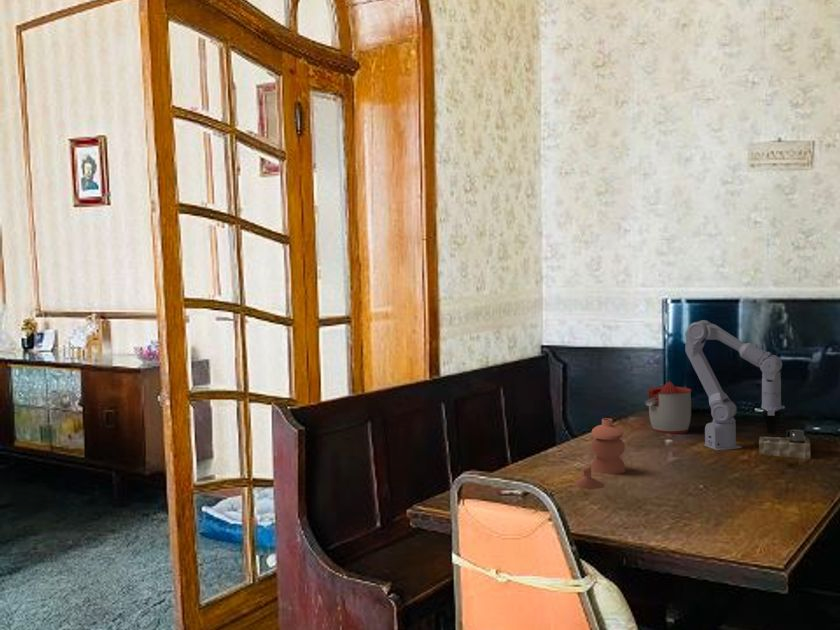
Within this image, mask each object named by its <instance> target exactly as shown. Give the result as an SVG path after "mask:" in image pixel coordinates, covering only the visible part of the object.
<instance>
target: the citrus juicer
mask: <svg viewBox="0 0 840 630" xmlns="http://www.w3.org/2000/svg"><path fill="white" fill-rule="evenodd" d="M647 391H648V393H647V394H648V395H647V396H648V397H647V398H648V399H647V400H646V401H645V405H646V406H648V414H649V421H650V425H651V429H652V431H654V432H655V433H660V434H670V435H673V434H674V435H681V434H686V433H688V431H689V427H690V423H691V417H692V396H691V395H692V393H691V392H692V389H691V388H689V387H683V386H676V385H674V383H673V382H671V381H668V382H666V383H665V384H664V385H663V386H655V387H650V388H648V389H647Z"/></svg>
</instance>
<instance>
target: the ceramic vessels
mask: <svg viewBox="0 0 840 630" xmlns="http://www.w3.org/2000/svg"><path fill="white" fill-rule="evenodd" d="M623 435H624V430H623V429H622V428H621V427H620V426H618V425H615V424H613V418H607V417H606V418H602V419H601V424H599V425H596V426H595V427H593V428H592V430H591V436H593V439H592V441H591V442H590V449H591V452H592V454H594V455H595V457H594V459H593V460H592V463H591V466H589V465H584V466H583V470H582V471H583V476H582V477H581V478H579V479H577V480H575V481H574V482H572V485H573V486H574V487H577V488H579V489H580V488H581V489H587V490H595V489H602V488H604V487H605V484H604V483H602V482H601V481H599V480H597V479H595V478H594V477H592V471H593V472H596V473H598V474H599V473H600V474H607V475H618V474H623V473H625V472H626V465H625V462H624V460H623V459H622V458H621V457H620V456H621V455H623V454H624V452H625V448H626V445H625V443H624V441H623V440H622V439H621V438H623Z"/></svg>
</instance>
